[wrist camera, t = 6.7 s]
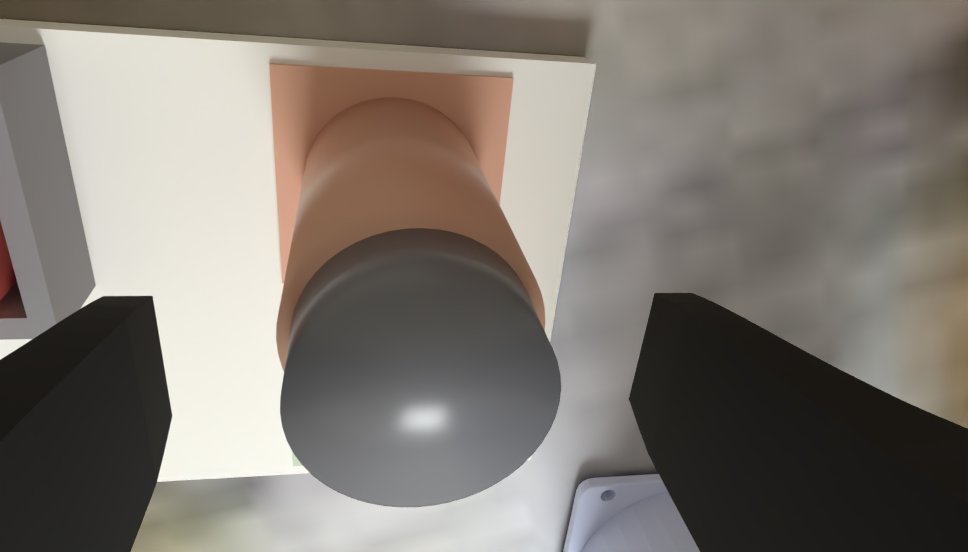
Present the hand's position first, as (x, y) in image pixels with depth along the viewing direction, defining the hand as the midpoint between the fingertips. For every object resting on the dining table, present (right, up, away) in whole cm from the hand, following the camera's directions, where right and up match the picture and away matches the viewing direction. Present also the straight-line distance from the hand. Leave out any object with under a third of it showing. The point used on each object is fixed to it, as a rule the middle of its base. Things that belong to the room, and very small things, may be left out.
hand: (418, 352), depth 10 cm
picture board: (-6, +1, +7) cm, 9 cm away
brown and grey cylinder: (-1, +3, +6) cm, 7 cm away
